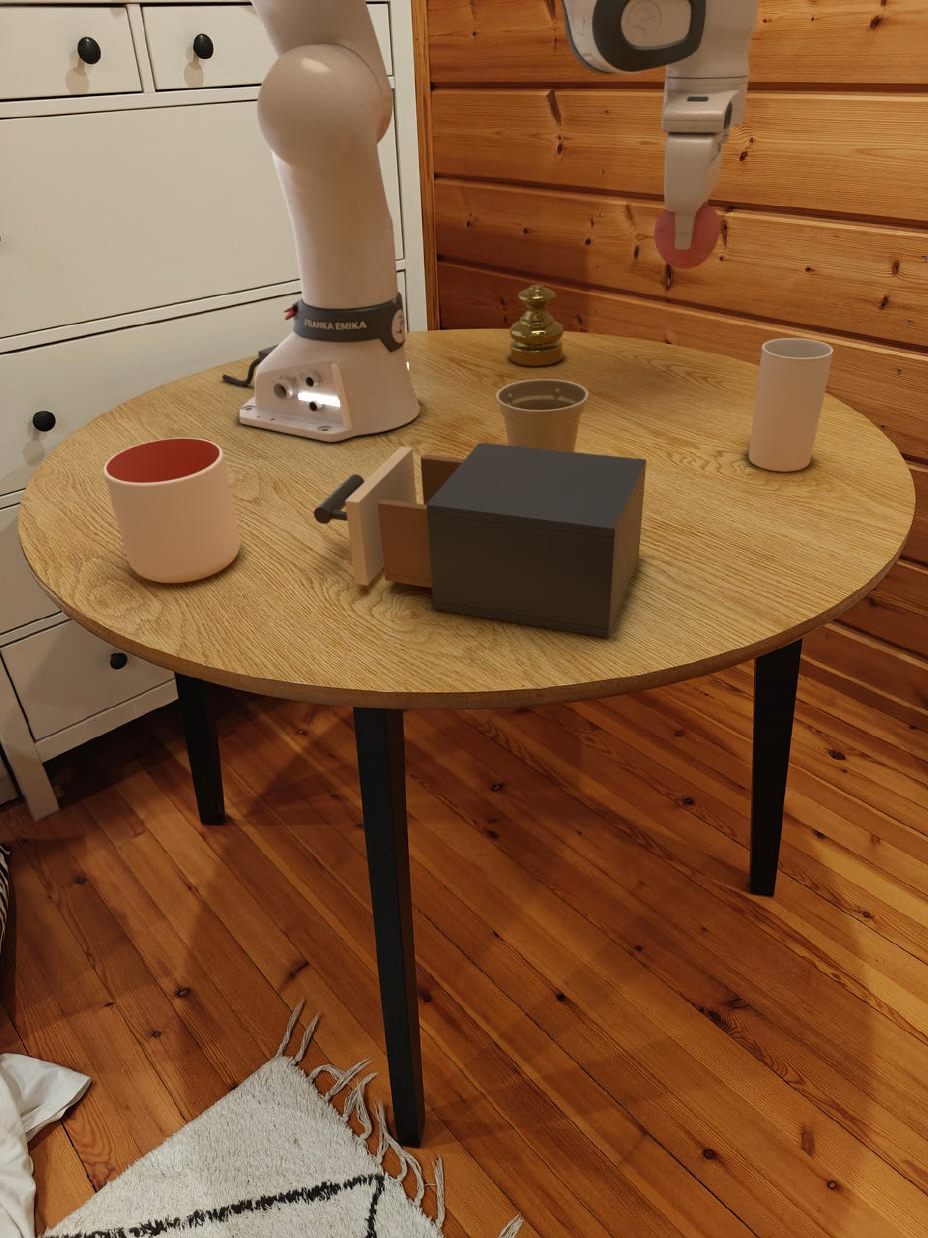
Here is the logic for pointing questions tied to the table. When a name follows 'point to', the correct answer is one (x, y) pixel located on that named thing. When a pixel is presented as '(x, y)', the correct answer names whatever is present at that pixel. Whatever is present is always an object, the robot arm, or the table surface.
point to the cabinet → (537, 537)
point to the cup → (174, 508)
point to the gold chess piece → (536, 330)
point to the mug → (788, 402)
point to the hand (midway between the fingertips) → (688, 240)
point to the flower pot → (542, 413)
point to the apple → (702, 241)
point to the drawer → (389, 517)
